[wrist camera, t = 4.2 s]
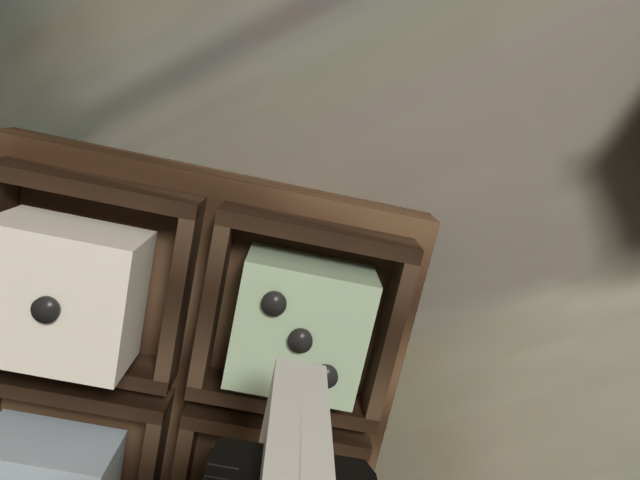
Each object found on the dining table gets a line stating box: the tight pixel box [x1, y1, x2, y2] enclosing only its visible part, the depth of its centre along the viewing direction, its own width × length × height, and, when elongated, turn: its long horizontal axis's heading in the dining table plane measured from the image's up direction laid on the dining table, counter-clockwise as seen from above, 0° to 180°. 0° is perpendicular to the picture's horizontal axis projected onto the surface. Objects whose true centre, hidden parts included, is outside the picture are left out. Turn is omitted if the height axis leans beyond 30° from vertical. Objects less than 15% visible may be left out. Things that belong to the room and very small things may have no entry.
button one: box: [0, 205, 157, 390], centre depth 20 cm, size 5×5×3 cm
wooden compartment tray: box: [0, 127, 440, 480], centre depth 24 cm, size 18×18×4 cm
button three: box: [221, 241, 383, 412], centre depth 22 cm, size 5×5×3 cm
